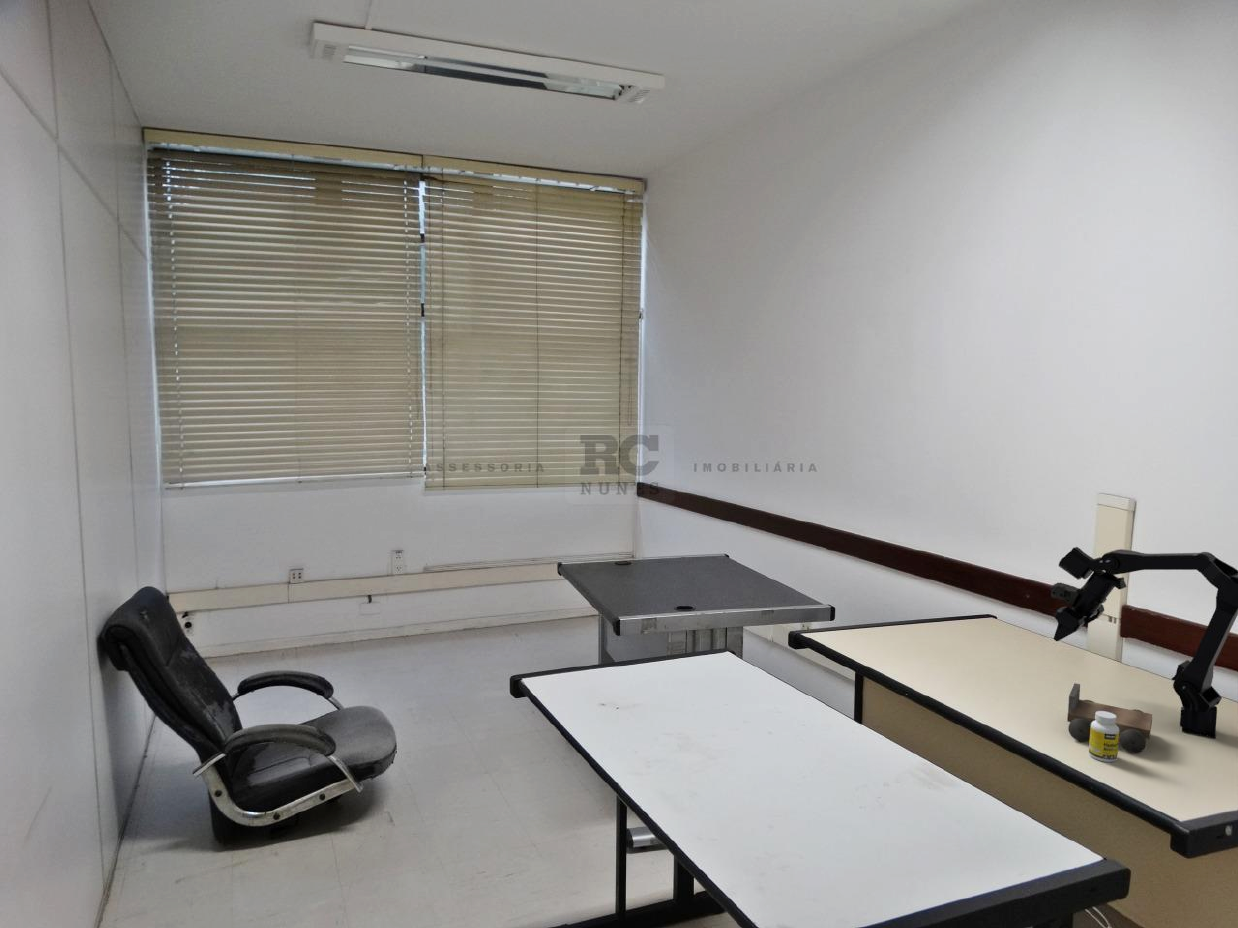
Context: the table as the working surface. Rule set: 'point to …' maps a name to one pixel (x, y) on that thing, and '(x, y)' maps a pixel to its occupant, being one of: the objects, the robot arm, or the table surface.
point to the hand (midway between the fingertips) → (1062, 635)
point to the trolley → (1129, 722)
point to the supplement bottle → (1104, 737)
